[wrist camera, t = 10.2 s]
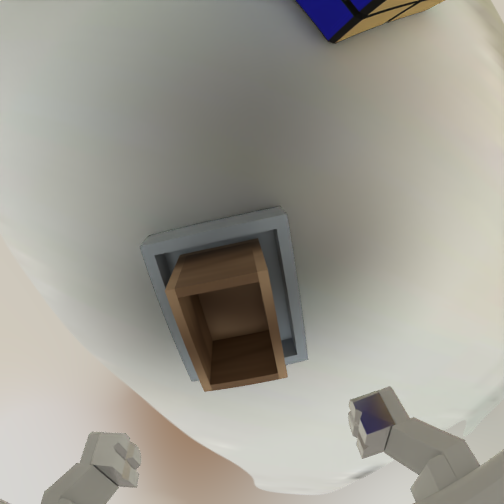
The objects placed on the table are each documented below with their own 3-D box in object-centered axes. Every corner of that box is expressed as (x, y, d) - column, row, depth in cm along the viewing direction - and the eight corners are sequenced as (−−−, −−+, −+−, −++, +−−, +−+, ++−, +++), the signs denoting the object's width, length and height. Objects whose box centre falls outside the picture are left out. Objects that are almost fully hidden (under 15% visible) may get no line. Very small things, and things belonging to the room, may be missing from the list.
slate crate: (150, 233, 18) (139, 246, 16) (279, 204, 18) (287, 213, 16) (194, 358, 22) (191, 381, 20) (300, 338, 22) (308, 359, 20)
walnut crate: (180, 254, 18) (164, 290, 14) (258, 238, 18) (267, 269, 14) (208, 343, 21) (204, 391, 16) (275, 330, 21) (287, 377, 16)
